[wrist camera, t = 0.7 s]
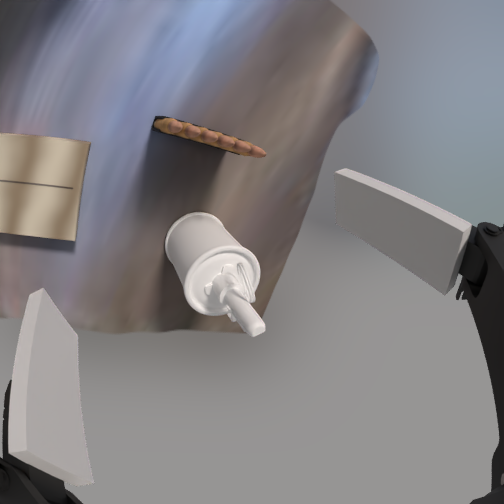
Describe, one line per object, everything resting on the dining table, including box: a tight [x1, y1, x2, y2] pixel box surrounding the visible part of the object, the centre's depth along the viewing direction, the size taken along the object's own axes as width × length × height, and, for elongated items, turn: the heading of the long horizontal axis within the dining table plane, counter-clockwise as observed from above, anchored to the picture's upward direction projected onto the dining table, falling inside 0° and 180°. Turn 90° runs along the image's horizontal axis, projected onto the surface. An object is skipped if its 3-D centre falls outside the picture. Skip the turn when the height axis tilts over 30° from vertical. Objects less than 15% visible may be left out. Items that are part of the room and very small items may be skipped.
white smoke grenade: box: [165, 212, 265, 337], centre depth 34 cm, size 10×9×20 cm
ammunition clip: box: [151, 116, 266, 158], centre depth 29 cm, size 11×2×12 cm, turn 70°
